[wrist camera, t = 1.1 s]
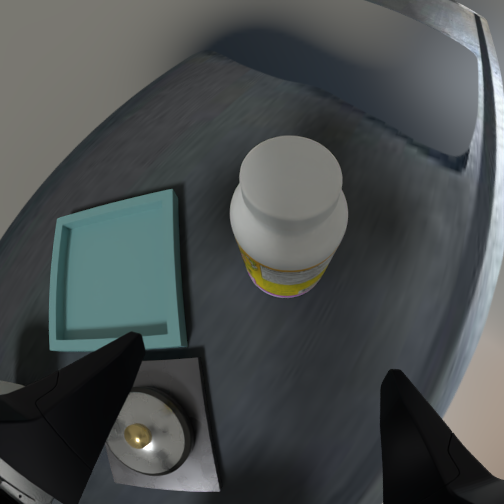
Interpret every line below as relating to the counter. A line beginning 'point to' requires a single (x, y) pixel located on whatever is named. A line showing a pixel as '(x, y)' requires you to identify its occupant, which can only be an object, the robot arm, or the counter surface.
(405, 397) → the robot arm
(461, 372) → the counter surface
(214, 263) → the counter surface
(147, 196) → the tray
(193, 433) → the block
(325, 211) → the supplement bottle
